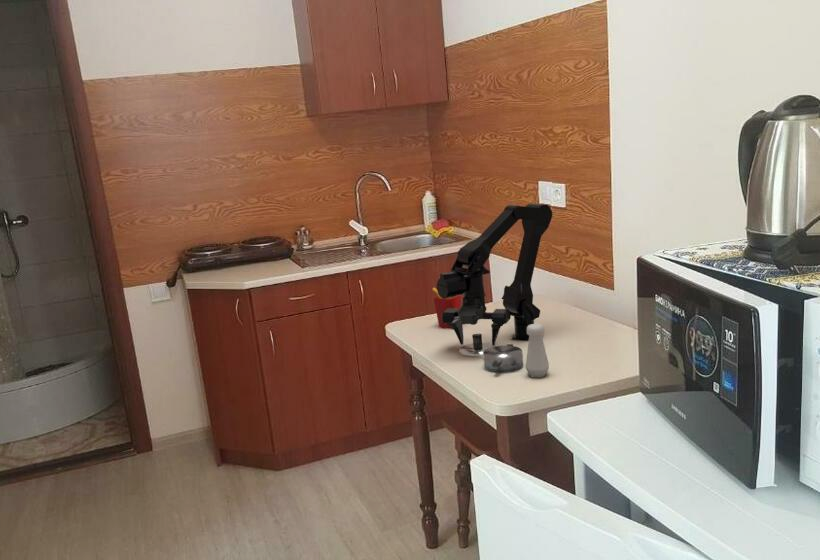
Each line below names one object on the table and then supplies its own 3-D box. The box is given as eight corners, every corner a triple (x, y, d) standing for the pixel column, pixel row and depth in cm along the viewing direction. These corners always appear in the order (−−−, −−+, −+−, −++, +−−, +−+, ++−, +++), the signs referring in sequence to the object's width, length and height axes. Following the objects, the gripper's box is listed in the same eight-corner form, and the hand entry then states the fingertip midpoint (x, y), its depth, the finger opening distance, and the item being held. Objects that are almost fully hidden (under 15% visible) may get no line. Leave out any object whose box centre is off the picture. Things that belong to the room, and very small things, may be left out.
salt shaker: (549, 378, 177) (546, 328, 174) (525, 379, 178) (522, 329, 175) (549, 370, 182) (547, 321, 179) (526, 370, 183) (523, 322, 181)
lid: (465, 344, 210) (464, 328, 209) (501, 345, 206) (500, 329, 205) (454, 356, 200) (453, 340, 199) (491, 358, 196) (490, 341, 195)
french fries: (435, 328, 227) (431, 282, 224) (448, 321, 234) (444, 276, 231) (459, 330, 223) (455, 283, 219) (472, 323, 229) (468, 277, 226)
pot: (492, 355, 197) (492, 341, 196) (529, 357, 193) (528, 342, 192) (477, 375, 183) (476, 360, 182) (515, 377, 180) (514, 362, 179)
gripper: (432, 298, 196) (437, 353, 199) (499, 299, 189) (502, 355, 192) (445, 288, 206) (449, 340, 209) (509, 288, 199) (512, 342, 202)
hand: (477, 345), depth 203 cm, fingers open, 9 cm apart
